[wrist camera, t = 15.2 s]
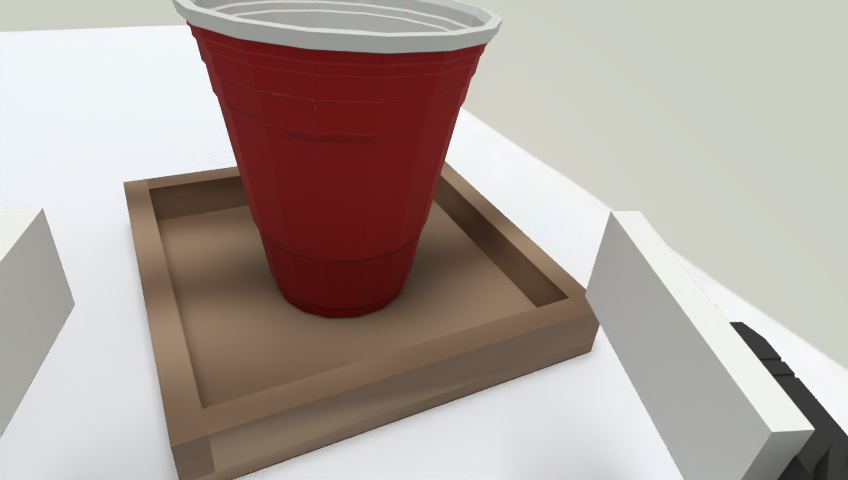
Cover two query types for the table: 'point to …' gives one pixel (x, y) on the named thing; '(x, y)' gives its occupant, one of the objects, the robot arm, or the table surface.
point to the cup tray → (333, 325)
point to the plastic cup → (340, 130)
